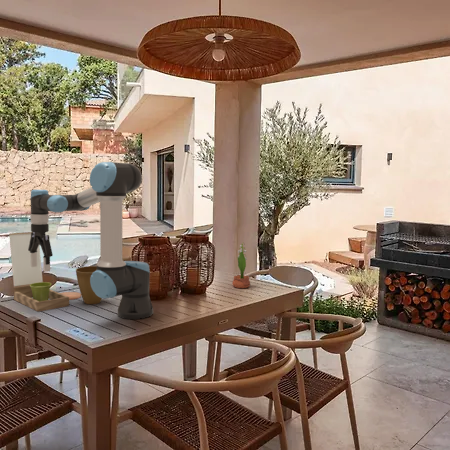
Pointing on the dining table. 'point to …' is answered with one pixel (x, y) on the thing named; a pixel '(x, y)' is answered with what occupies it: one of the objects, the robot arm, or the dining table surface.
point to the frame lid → (24, 260)
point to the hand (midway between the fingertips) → (40, 269)
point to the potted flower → (241, 271)
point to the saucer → (72, 295)
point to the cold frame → (24, 297)
